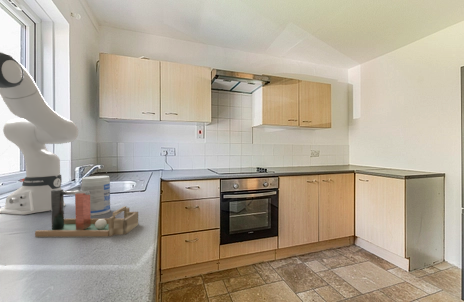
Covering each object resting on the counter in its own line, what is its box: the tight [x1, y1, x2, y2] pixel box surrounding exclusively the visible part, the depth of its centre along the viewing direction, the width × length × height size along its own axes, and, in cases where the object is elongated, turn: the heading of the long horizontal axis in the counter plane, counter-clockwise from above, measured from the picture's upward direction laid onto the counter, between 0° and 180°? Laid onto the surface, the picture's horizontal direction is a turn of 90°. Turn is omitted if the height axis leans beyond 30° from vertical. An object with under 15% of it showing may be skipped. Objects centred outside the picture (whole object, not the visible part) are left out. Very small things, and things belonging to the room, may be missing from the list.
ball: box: [95, 218, 107, 229], centre depth 66 cm, size 3×3×3 cm
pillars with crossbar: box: [50, 188, 92, 230], centre depth 66 cm, size 12×3×12 cm, turn 90°
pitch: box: [34, 217, 124, 238], centre depth 67 cm, size 21×11×2 cm, turn 90°
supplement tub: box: [80, 175, 111, 217], centre depth 84 cm, size 10×10×15 cm
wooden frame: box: [108, 205, 139, 237], centre depth 66 cm, size 4×11×7 cm, turn 179°
